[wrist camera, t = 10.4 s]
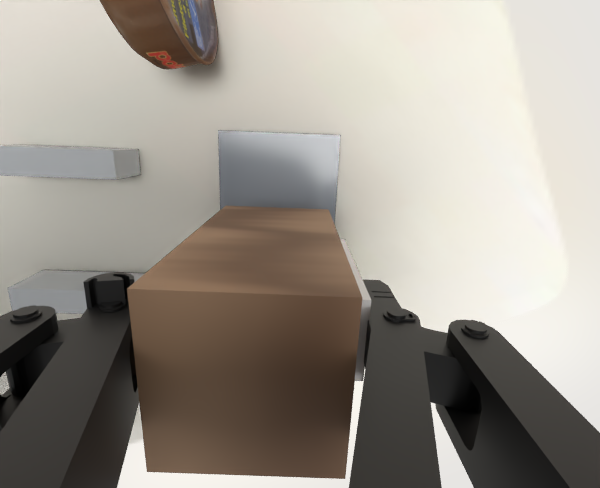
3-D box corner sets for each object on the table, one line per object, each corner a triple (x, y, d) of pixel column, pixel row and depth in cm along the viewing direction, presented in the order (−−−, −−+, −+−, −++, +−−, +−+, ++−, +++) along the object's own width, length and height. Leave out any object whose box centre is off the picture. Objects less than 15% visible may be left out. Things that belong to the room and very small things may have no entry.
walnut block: (227, 299, 18) (147, 471, 9) (225, 205, 17) (126, 288, 7) (322, 303, 18) (345, 478, 9) (328, 209, 17) (362, 297, 7)
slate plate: (225, 313, 24) (223, 319, 23) (221, 130, 21) (218, 130, 20) (327, 316, 24) (327, 322, 24) (338, 135, 21) (340, 135, 20)
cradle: (47, 290, 24) (12, 311, 21) (21, 144, 21) (-23, 145, 18) (151, 294, 24) (130, 315, 21) (138, 149, 21) (113, 150, 18)
